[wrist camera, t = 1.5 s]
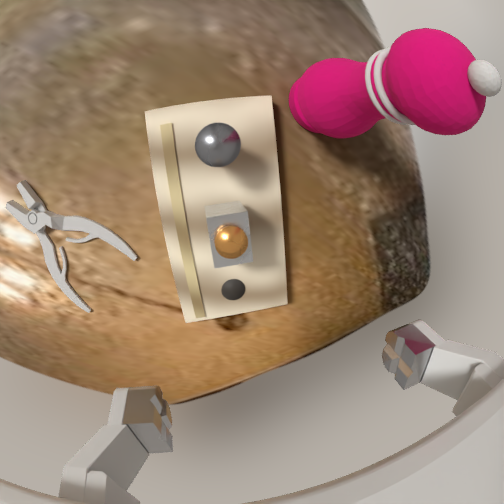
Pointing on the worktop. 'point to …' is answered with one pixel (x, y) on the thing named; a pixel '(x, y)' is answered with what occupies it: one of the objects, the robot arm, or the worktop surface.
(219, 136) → the fixed leg
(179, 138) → the board
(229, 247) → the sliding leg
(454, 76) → the pepper mill
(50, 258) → the pliers
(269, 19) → the worktop surface
